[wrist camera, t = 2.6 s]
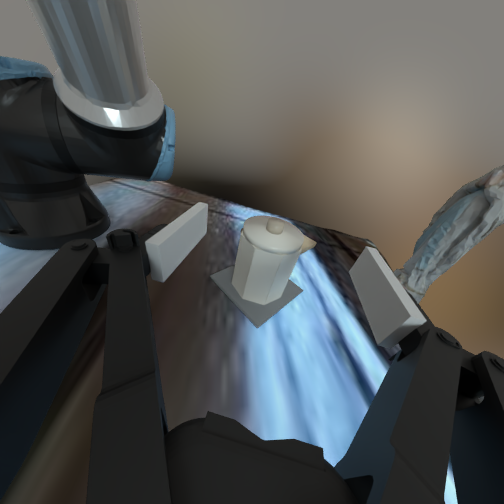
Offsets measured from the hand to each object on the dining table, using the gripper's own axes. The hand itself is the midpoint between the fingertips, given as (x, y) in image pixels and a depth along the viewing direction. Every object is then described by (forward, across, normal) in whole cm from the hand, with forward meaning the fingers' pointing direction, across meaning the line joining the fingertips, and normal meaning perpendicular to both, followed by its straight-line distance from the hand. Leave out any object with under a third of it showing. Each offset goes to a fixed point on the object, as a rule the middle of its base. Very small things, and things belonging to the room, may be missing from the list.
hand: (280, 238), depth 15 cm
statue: (+15, +25, -16) cm, 33 cm away
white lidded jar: (+10, 0, -15) cm, 18 cm away
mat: (+10, 0, -16) cm, 19 cm away
